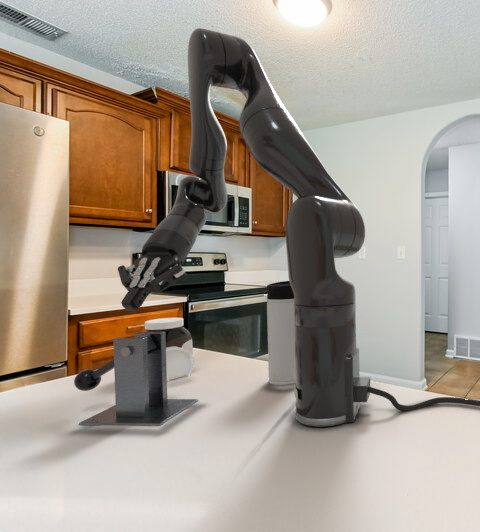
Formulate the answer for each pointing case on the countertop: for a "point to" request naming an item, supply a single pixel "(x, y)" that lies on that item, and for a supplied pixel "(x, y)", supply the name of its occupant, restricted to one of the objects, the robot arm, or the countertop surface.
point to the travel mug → (281, 334)
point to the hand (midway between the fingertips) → (128, 308)
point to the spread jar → (175, 346)
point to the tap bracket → (140, 385)
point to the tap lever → (101, 371)
